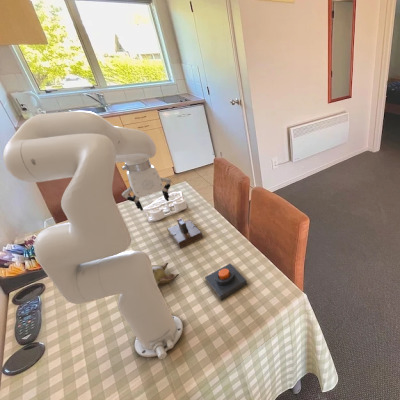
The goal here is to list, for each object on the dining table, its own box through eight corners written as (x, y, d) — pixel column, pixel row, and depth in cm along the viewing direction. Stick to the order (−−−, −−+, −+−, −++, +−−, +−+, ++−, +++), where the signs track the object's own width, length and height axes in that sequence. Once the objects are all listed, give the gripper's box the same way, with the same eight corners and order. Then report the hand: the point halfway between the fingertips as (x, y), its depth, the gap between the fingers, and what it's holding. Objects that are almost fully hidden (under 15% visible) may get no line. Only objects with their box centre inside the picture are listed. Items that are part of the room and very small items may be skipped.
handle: (188, 232, 118) (185, 222, 115) (184, 233, 117) (181, 224, 114) (183, 226, 122) (180, 217, 119) (179, 228, 121) (176, 219, 118)
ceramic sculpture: (117, 271, 90) (163, 250, 100) (125, 289, 94) (168, 267, 105) (128, 287, 84) (176, 263, 95) (137, 305, 88) (181, 280, 99)
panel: (203, 237, 120) (201, 232, 118) (180, 248, 114) (178, 242, 112) (191, 224, 128) (189, 219, 127) (169, 233, 122) (167, 228, 121)
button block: (247, 284, 96) (245, 276, 94) (221, 300, 90) (218, 292, 88) (231, 267, 103) (229, 259, 101) (206, 281, 97) (203, 273, 95)
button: (231, 275, 95) (230, 272, 94) (222, 281, 93) (221, 277, 92) (226, 270, 97) (226, 267, 96) (217, 275, 95) (216, 272, 94)
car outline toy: (152, 225, 128) (146, 212, 124) (144, 216, 135) (139, 204, 131) (192, 208, 141) (188, 196, 137) (183, 201, 147) (179, 190, 143)
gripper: (114, 176, 91) (133, 217, 100) (167, 161, 101) (180, 199, 110) (109, 169, 95) (127, 209, 104) (160, 156, 106) (173, 193, 115)
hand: (154, 204), depth 107 cm, fingers open, 9 cm apart
